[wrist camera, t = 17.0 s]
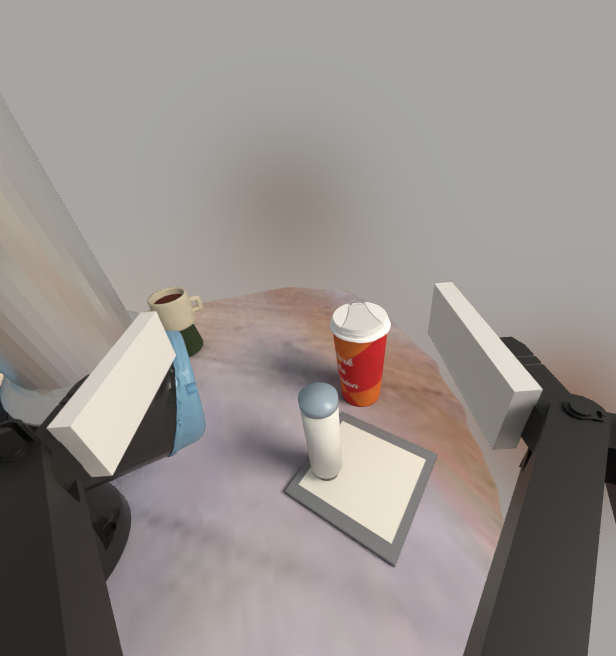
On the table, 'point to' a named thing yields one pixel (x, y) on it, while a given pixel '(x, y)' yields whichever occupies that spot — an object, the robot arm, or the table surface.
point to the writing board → (369, 487)
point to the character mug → (178, 314)
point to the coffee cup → (360, 350)
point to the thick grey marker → (322, 429)
